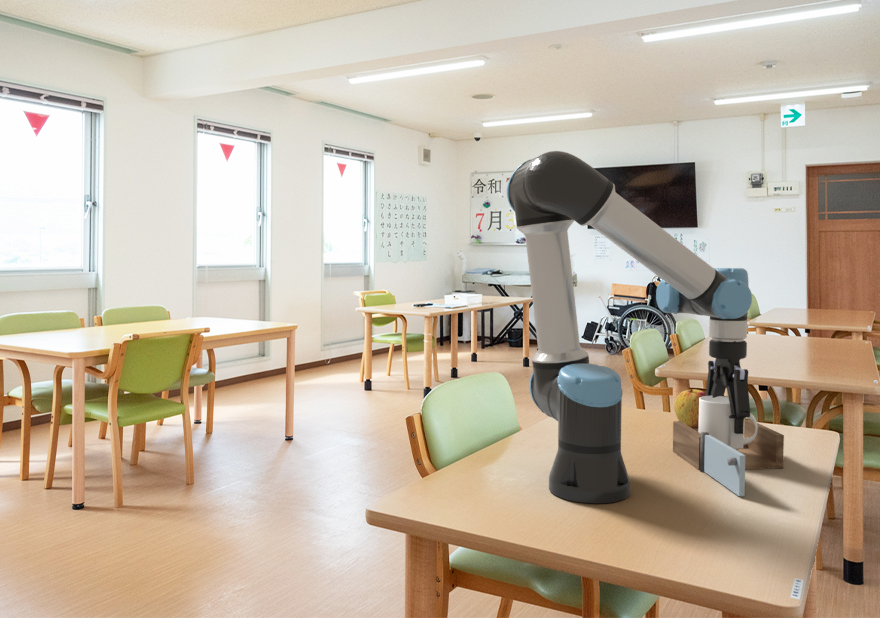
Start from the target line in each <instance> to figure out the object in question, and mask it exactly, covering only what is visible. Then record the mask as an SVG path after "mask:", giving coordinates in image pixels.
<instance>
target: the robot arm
mask: <svg viewBox="0 0 880 618" xmlns="http://www.w3.org/2000/svg"><path fill="white" fill-rule="evenodd" d="M506 197H507V202H508V203H509V206H510V208H511V209H512V211H514V213H515V214H514V216H515V222H516V229H517V230H518V231H520V233H522V234H523V235H524V237H525V244H526V245H525V246H526V253H527V263H528V271H529V280H530V281H529V282H530V289H531V297H532V305H533V306H532V307H533V314H534V315H533V317H534V323H535V333H536V341H537V351H536V353H535V354H534V355H533V356H532V359H531V362H532V373H531V375H530V378H529V382H528V383H529V385H528V387H529V394H530V397H531V400H532V401H533V403H534V404H535V406H536V407H537V408H538V409H539V411H541V413H543V414H545V415H546V416H547V417H549V418H552V419H554V420H555V421H557V423H558V425H557V426H558V428H557V431H558V432H557V433H558V434H557V435H558V436H557V437H558V438H557V439H558V440H557V441H558V443H557V444H558V445H557V446H558V448H557V453H556V455H555V458H554V461H553V464H552V467H551V470H550V472H549V476H548V490H549V491H550V493H551V494H553V495H555V496H556V497H558V498H561V499H564V500H567V501H571V502H577V503H584V504H608V503H616V502H620V501H623V500H625V499H627V498H628V497H629V496H630V494H631V481H630V477H629V473H628V471H627V467H626V464H625V460H624V458H623V455H622V406H623V405H622V404H623V403H622V402H623V400H622V399H623V388H622V379H621V377H620V374H619V373H618V372H617V371H615V370H614V369H612V368H611V367H607V366H604V365H599V364H595V363H594V364H593V363H590V358H589V352H587V350H585V349H584V348H583V347H582V346H581V345H580V334H579V325H578V318H577V317H578V316H577V309H576V308H577V306H576V298H575V296H576V295H575V289H574V279H573V269H572V261H571V252H570V244H569V243H570V242H569V234H568V233H569V232H568V230H569V229H570V227H571V226H572V225H573V223H574V222H576V223H577V224H578V225H580V226H582V227H584V226H591V227H592V228H593V229H594V230H596V231H597V232H598V233H599V234H601V235H602V236H603V237H605V238H606V239H608V240H609V241H611V242H612V243H613V244H615V245H616V246H617V247H618V248H620V249H621V250H622V251H624V252H625V253H627V254H628V255H629V256H630V257H632V258H634V259H635V261H637V262H638V263H639V264H641V265H643V266H644V267H645V268H646V269H648V270H649V271H650V272H652V273H653V274H654V275H656V276H657V277H659V278H660V279H661V280H660V282H659V283H658V285H657V286H656V291H655V293H656V294H655V301H656V305H657V306H658V309H659V310H660V311H661V312H662V313H666V314H676V315H677V314H689V315H697V316H705V317H709V321H708V323H709V327H708V329H709V330H708V331H709V332H708V333H709V334H708V336H709V338H711V339H710V341H709V343H708V344H709V347H708V355H709V356H710V357H711V358H714V359H715V360H708V362H707V365H708V366H707V367H708V372H707V378H706V379H707V380H706V388H705V393H706V394H705V396H713V398H715V397H718V396H725V393H726V391H727V397H729V402H730V407H731V413H732V415H730V416H729V418H730V427H729V446H730V447H731V448H733V449H734V448H743V437H744V420H745V419H747V417H750V413H751V407H750V406H751V405H750V404H751V403H750V395H749V394H750V392H749V381H748V380H749V370H748V369H746V368H744V369H743V368H741V362H740V361H741V360H744V359H746V358H747V353H748V352H747V350H748V343H747V341H746V340H745V339H747V337H748V336H747V335H748V328H749V324H748V314H749V313H748V311H749V310H750V308H751V306H752V302H753V295H752V291H751V289H750V287H749V273H748V271H747V269H745V268H742V267H718V268H717V267H716V268H715V267H712V266H711V265H710V264H709V263H707V261H705V260H704V259H703V258H701V257H700V256H698V255H697V254H696V253H694V252H693V251H692V250H690V249H689V247H687V246H686V245H684V244H683V243H682V242H680V241H679V240H678V239H677V238H675V237H674V236H673V235H671V234H670V233H669V232H667V231H666V230H665V229H664V228H662V227H661V226H660V225H658V224H657V223H656V222H654V221H653V220H652V219H650V218H649V217H648V216H647V215H646V214H645V213H643V212H641V211H640V210H639V209H638V208H636V207H635V206H634V205H633V204H631V203H630V202H628V200H627V199H625V198H623V197H622V196H621V195H620V194H619V193H617V192H616V185H615V184H614V183H613V181H611V180H609V179H608V178H607V177H606V176H604V175H603V174H602V173H601V172H599V171H598V170H597V169H595V167H592V166H591V165H590V164H588V163H587V162H586V161H584V160H582V159H581V158H579V157H577V156H575V155H574V154H572V153H569V152H566V151H560V150H552V151H546V152H544V153H542V154H539V156H537V157H536V156H535V157H534V158H531V159H528V160H526V161H524V162H523V163H521V164H520V165H519V166H518V167H516V169H515V170H514V171H513V172H512V174H511V175H510V177H509V179H508V182H507V185H506Z"/></svg>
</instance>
